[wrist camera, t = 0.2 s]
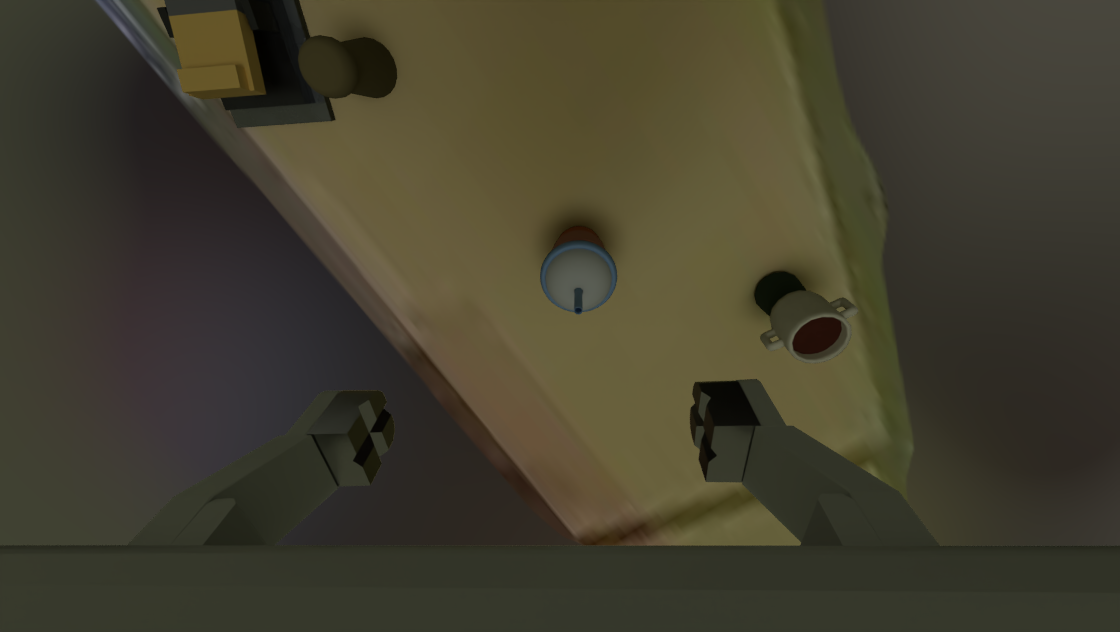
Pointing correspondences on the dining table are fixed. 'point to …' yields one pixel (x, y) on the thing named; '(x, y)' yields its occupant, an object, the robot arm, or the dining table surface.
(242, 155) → the dining table surface
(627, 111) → the dining table surface
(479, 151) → the dining table surface
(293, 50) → the grey box with tabs
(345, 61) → the dark tall tapered piece
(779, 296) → the grey trophy cup
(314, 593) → the robot arm
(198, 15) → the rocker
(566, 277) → the cup with straw
